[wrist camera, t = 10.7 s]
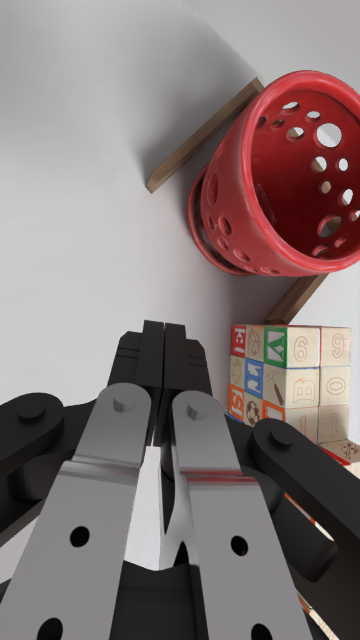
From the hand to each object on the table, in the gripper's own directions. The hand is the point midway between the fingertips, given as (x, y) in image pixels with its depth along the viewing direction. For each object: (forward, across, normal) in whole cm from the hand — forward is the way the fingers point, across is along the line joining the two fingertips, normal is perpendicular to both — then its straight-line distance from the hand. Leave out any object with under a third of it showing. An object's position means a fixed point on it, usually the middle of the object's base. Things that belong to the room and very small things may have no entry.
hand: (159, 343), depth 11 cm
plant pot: (+22, -7, -1) cm, 23 cm away
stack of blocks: (+13, -12, +17) cm, 25 cm away
